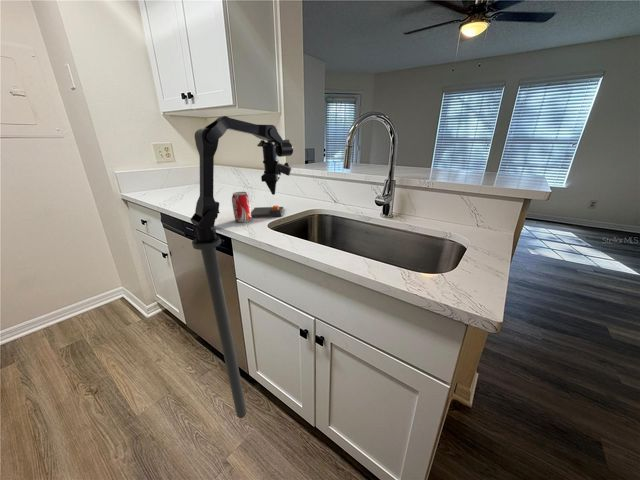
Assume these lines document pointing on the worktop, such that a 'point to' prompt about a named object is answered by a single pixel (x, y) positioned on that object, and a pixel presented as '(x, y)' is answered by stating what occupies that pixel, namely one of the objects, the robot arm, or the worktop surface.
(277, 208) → the tare button
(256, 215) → the scale
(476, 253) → the worktop surface
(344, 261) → the worktop surface
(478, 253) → the worktop surface
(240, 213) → the soda can
